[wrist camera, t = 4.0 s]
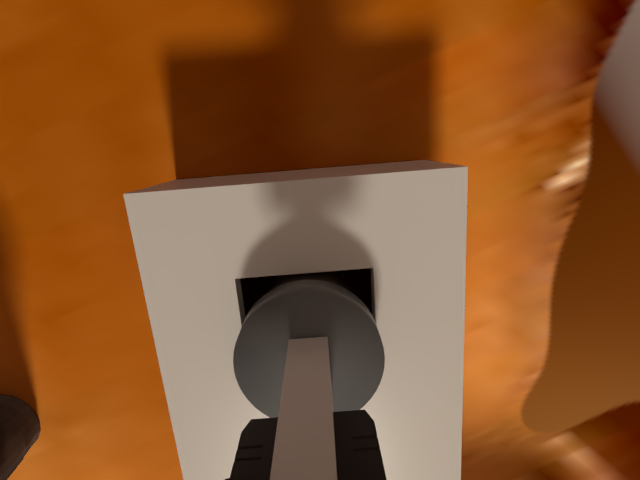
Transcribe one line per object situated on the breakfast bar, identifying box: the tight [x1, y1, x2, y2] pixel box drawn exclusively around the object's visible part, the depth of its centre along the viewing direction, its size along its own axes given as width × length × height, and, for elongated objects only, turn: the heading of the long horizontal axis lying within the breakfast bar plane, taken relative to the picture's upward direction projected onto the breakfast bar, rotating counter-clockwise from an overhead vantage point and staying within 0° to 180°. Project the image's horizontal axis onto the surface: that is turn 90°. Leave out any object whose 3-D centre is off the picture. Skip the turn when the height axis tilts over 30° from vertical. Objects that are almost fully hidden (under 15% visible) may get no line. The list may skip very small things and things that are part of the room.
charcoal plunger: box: [233, 271, 385, 418], centre depth 18 cm, size 6×6×6 cm
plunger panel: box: [123, 160, 468, 480], centre depth 22 cm, size 30×14×6 cm, turn 4°
